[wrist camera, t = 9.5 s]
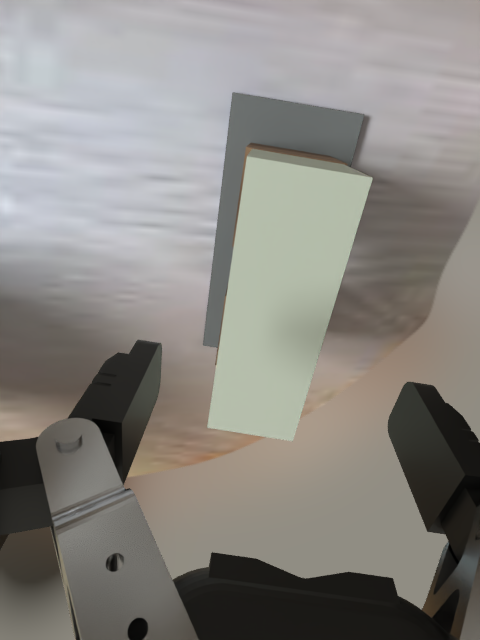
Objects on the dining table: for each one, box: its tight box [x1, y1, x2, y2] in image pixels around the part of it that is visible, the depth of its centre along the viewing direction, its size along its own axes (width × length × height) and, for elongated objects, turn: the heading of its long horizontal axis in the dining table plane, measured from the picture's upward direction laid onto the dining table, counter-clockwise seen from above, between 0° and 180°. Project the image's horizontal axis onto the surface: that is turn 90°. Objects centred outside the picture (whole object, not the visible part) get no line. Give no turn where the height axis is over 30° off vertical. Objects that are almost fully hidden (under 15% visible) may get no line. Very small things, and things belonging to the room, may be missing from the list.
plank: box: [207, 149, 373, 441], centre depth 18 cm, size 13×4×6 cm, turn 171°
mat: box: [203, 93, 364, 348], centre depth 26 cm, size 18×8×1 cm, turn 172°
